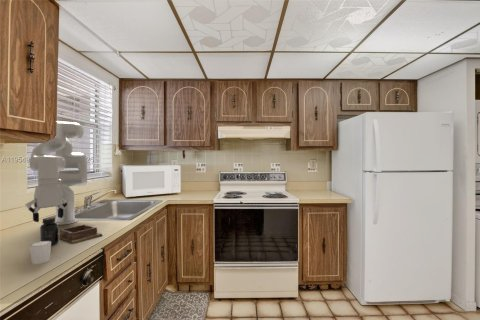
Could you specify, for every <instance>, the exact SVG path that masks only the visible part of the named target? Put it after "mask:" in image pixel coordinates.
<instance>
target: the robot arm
mask: <svg viewBox="0 0 480 320" xmlns="http://www.w3.org/2000/svg"><path fill="white" fill-rule="evenodd" d="M56 122H57V134H56V136H55V138H54V139H52V140H49V141H48V142H46V143H42V142H41V143H39V144H38V145H36V146H35V147H34V148H33V149H32V151H31V154H30V158H29V168H30V169H31V170H32V171H34V172H37V182H38V183H37V184H38V185H36V186H35V187H34V189H35V190H34V194H33V199H32V200H31V201H29V202H27V203H25V207H26V208H27V211H29V212H31V213H32V220H33V222H35V223H39V221H40V213H39V211H40V210H41V209H46V208H53V207H55V223H57V224H58V226H59V225H60V226H61V225H62V226H65V225H70V224H74V223H76V222H78V218H75V213H76V212H75V192H74V190H72V188H71V187H78V186H79V187H80V186H85V185H86V184H87V183H88V159H87V156H86V154H85V153H82V152H73V149H74V148H73V143H72V142H71V141H70V140H69V139H81V138H83V136H84V128H83V126H82V124H80V123H78V122H72V121H71V122H70V121H56ZM54 142H55V143H54ZM51 153H55V155H49V154H51ZM47 154H48V155H47ZM65 169H68V170H65ZM69 169H70V170H69ZM71 169H76V170H71ZM77 169H78V170H77ZM32 205H33V207H32Z"/></svg>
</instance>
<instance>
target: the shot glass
mask: <svg viewBox="0 0 480 320" xmlns="http://www.w3.org/2000/svg"><path fill="white" fill-rule="evenodd" d="M28 247H29V252H30V259H31V264H32V265H41V264H44V263H47V262H49V261H50V259H51V250H52V245H51V241H36V242H32V243H30V244H29V245H28Z"/></svg>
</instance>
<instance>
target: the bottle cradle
mask: <svg viewBox="0 0 480 320" xmlns="http://www.w3.org/2000/svg"><path fill="white" fill-rule="evenodd" d="M102 236H103V233H101V232H98V227H96V226H91V225H89V224H85V223H84V224H80V225H76V226H72V227H67V228H62V229H59V233H58V240H62V241H65V242H67V243H70V244H77V243H81V242H84V241H89V240H92V239H96V238H100V237H102Z"/></svg>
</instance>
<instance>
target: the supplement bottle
mask: <svg viewBox="0 0 480 320" xmlns="http://www.w3.org/2000/svg"><path fill="white" fill-rule="evenodd" d="M55 220H56V216H55V217H54V216H51V217H45V218H42V224H41V225H40V226H39V231H40V232H39V235H40V236H39V239H40V241H51V246H53V245H56V244H58V243H59V238H58V234H59V225H58V224H57V223H55ZM40 241H39V242H40Z"/></svg>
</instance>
